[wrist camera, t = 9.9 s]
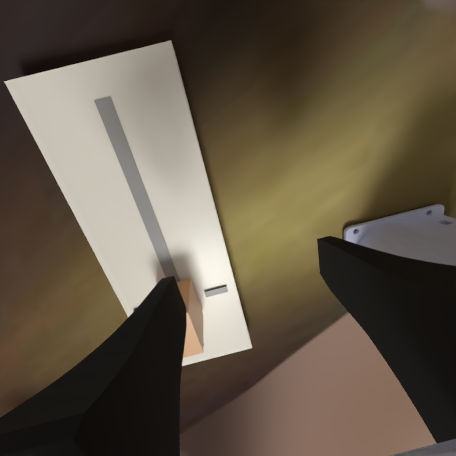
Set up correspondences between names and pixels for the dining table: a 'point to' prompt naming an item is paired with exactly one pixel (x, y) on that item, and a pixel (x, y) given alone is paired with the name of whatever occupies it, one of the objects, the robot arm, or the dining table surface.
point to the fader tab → (192, 319)
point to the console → (137, 180)
